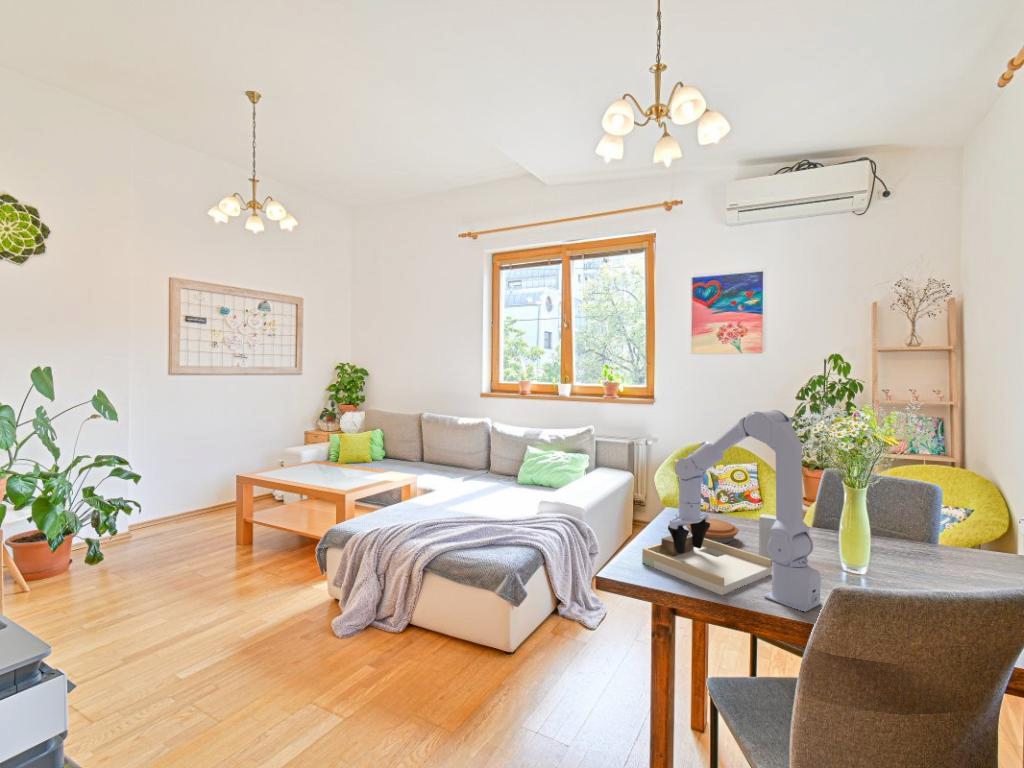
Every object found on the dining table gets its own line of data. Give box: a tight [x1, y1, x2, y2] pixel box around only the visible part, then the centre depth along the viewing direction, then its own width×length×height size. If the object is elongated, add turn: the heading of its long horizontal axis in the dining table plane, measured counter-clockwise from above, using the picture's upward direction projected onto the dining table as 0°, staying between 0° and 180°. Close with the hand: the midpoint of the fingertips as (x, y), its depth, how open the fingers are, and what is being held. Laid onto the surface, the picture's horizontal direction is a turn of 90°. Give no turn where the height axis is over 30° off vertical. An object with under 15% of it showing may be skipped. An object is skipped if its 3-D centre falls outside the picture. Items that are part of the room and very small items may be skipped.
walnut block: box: [660, 534, 694, 557], centre depth 145 cm, size 4×9×4 cm, turn 125°
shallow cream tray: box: [641, 534, 772, 596], centre depth 138 cm, size 24×22×4 cm
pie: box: [685, 518, 740, 545], centre depth 163 cm, size 16×16×5 cm
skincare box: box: [758, 513, 776, 559], centre depth 145 cm, size 6×4×12 cm
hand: (688, 550), depth 142 cm, fingers open, 7 cm apart
